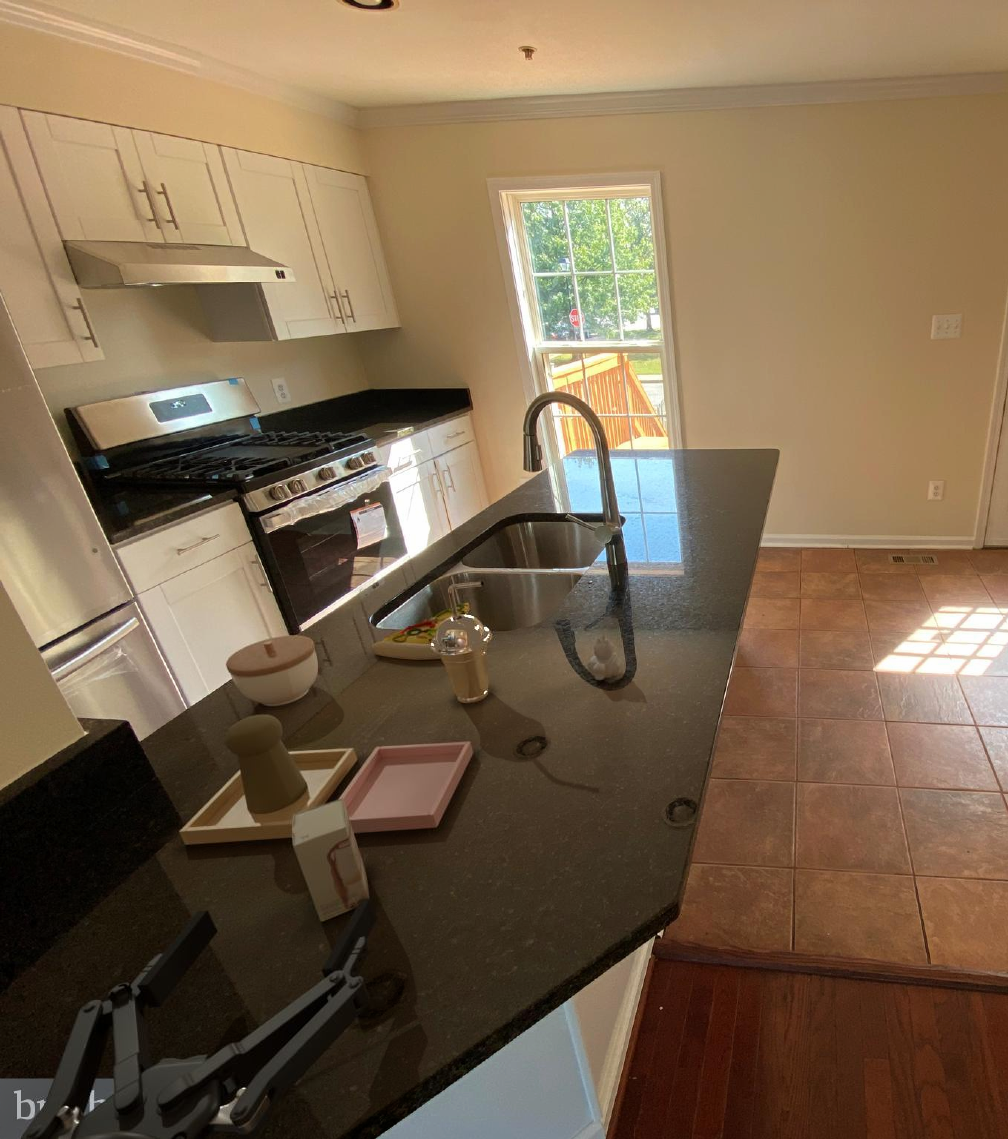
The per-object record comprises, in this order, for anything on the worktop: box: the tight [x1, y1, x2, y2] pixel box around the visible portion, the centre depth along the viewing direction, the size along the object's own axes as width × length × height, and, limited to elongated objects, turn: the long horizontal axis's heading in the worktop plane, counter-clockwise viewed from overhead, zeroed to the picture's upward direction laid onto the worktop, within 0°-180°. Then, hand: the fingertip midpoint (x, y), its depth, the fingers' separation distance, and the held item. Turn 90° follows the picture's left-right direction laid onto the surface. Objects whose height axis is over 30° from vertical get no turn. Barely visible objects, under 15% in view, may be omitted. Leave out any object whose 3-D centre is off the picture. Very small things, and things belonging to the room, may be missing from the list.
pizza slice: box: [371, 602, 470, 661], centre depth 114 cm, size 16×21×3 cm
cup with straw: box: [431, 580, 493, 704], centre depth 92 cm, size 8×9×20 cm
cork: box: [225, 714, 307, 814], centre depth 73 cm, size 6×6×11 cm
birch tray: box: [178, 747, 358, 846], centre depth 75 cm, size 12×13×2 cm
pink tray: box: [337, 741, 474, 834], centre depth 77 cm, size 12×13×2 cm
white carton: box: [291, 798, 370, 922], centre depth 62 cm, size 5×4×10 cm
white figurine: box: [587, 632, 623, 681], centre depth 100 cm, size 5×7×8 cm
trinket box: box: [225, 634, 319, 707], centre depth 94 cm, size 11×11×9 cm
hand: (290, 914), depth 55 cm, fingers open, 13 cm apart
